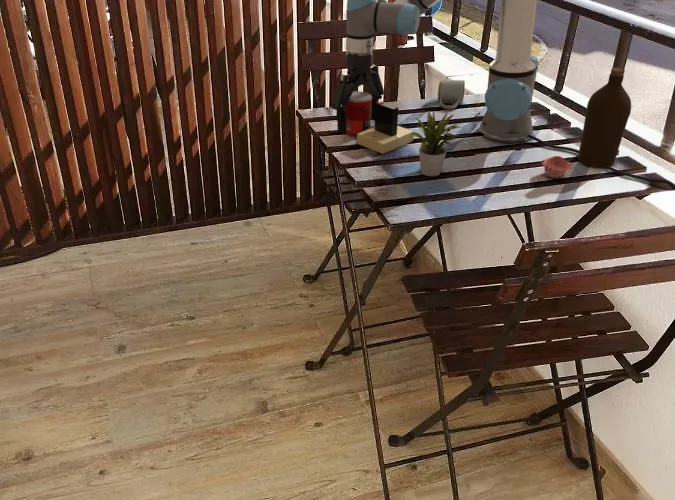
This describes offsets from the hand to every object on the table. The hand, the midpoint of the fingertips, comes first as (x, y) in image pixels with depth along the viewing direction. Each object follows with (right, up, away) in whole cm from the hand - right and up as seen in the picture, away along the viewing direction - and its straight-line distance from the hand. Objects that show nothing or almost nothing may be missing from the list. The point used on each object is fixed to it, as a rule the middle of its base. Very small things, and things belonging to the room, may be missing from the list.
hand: (357, 125), depth 190 cm
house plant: (+18, -17, -23) cm, 34 cm away
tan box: (+8, -6, -5) cm, 11 cm away
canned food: (0, -2, +1) cm, 2 cm away
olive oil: (+64, -13, -15) cm, 67 cm away
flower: (+50, -18, -23) cm, 58 cm away
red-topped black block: (+8, -3, -7) cm, 11 cm away
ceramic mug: (+31, +11, +22) cm, 39 cm away
